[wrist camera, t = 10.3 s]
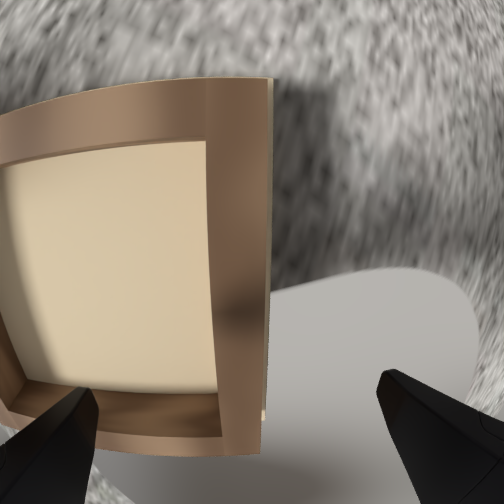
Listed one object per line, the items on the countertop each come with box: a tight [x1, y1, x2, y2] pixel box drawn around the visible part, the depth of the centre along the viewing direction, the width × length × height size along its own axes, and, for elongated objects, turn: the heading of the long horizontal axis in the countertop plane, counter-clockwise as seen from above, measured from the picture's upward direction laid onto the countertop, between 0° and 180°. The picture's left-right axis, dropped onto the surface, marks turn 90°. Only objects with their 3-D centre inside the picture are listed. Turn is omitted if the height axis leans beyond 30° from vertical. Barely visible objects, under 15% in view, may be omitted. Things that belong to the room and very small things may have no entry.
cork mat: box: [0, 77, 273, 421], centre depth 14 cm, size 20×20×1 cm
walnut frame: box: [0, 78, 268, 457], centre depth 12 cm, size 18×18×4 cm
